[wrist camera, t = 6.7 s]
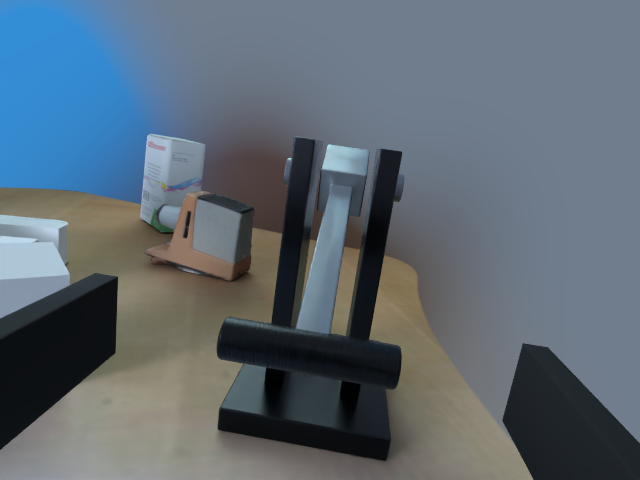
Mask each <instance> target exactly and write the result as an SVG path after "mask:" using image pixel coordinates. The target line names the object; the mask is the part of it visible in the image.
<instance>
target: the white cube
mask: <svg viewBox="0 0 640 480" xmlns="http://www.w3.org/2000/svg"><path fill="white" fill-rule="evenodd" d="M67 286H70V274H69V272H68V270H67V268H66V266H65V264H64V262H63V260H62V258H61V256H60V254H59V252H58V250H57V249H56V247H55V245H54V243H53V242H34V243H0V318H2V317H4V316H6V315H8V314H10V313H12V312H15V311H17V310H19V309H21V308H23V307H25V306H27V305H29V304H31V303H34V302H36V301H38V300H40V299H42V298H44V297H46V296H48V295H51V294H53V293H55V292H57V291H59V290H61V289H63V288H65V287H67Z"/></svg>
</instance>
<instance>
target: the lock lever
mask: <svg viewBox="0 0 640 480" xmlns="http://www.w3.org/2000/svg"><path fill="white" fill-rule="evenodd" d="M368 161H369V150H363V149H356V148H349V147H342V146H335V145H328V148H327V151H326V154H325V157H324V161H323V164H322V167H321V174H320V184H319V195H318V205H317V210H318V211H324V214H323V218H322V222H321V226H320V230H319V234H318V238H317V242H316V246H315V251H314V255H313V259H312V263H311V267H310V271H309V275H308V279H307V283H306V287H305V291H304V295H303V300H302V304H301V308H300V312H299V316H298V320H297V324H296V328H293V327H287V326H281V325H275V324H269V323H264V322H258V321H252V320H246V319H240V318H234V317H227V318H226V319H225V321H224V322H223V324H222V327H221V329H220V333H219V336H218V342H217V356H218V358H219V359H221V360H227V361H233V362H238V363H244V364H250V365H255V366H261V367H267V368H272V369H278V370H284V371H289V372H295V373H301V374H306V375H312V376H318V377H323V378H329V379H335V380H341V381H346V382H352V383H358V384H363V385H369V386H375V387H380V388H386V389H392V390H393V389H395V388H396V387H397V385H398V381H399V377H400V371H401V360H402V355H401V348H400V346H398V345H393V344H387V343H382V342H376V341H370V340H364V339H358V338H352V337H346V336H340V335H334V334H330V332H331V326H332V319H333V313H334V307H335V300H336V294H337V288H338V281H339V275H340V269H341V262H342V256H343V250H344V243H345V237H346V231H347V223H348V218H349V215H351V216H358V217H359V216H360V212H361V207H362V200H363V195H364V190H365V184H366V178H367V170H368Z"/></svg>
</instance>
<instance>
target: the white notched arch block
mask: <svg viewBox="0 0 640 480" xmlns="http://www.w3.org/2000/svg"><path fill="white" fill-rule="evenodd" d="M34 242H53V243H54V245H55V247H56V249H57V250H58V252H59V254H60V256H61V258H62V260H63V262H64V264H66V263H67V262H68V223H67V222H65V221H59V220H49V219H38V218H28V217H17V216H6V215H0V243H34Z"/></svg>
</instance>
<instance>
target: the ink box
mask: <svg viewBox="0 0 640 480" xmlns="http://www.w3.org/2000/svg"><path fill="white" fill-rule="evenodd" d="M205 146H206V145H204V144H201V143H197V142H193V141H189V140H185V139H180V138H173V137H167V136H161V135H155V134H150V135H148V136H147V147H146V157H145V169H144V180H143V192H142V204H141V219H143V220H144V221H146V222H147V223H149V224H150V225H151V226H153V227H154V228H156V229H157V230H159V231H160V232H174V230H172V229H170V228H169V227H167V226H164V225H162V224H159V222H158V221H157V216H156V215H157V213H156V212H157V210H158V209H159V208H160V207H161V205H163V204H164V205H166V204H168V205H169V206H173V207H180V208H181V207H182V204H183V201H184V199H185V196H186V195H187V194H188V193H191V192H196V191H201V183H202V174H203V166H204V156H205Z"/></svg>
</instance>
